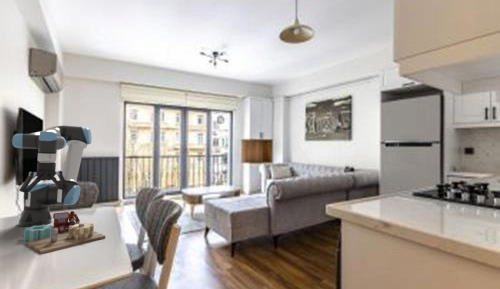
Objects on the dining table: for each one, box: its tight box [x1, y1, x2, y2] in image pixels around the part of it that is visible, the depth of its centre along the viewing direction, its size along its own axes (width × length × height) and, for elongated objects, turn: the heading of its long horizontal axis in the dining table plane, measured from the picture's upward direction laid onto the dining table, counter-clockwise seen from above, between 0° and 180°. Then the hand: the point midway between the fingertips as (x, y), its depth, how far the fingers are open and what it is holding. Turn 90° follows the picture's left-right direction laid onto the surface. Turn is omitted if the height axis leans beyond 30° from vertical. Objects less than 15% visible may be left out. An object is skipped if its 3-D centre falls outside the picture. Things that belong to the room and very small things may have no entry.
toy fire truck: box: [52, 210, 81, 234], centre depth 148 cm, size 7×12×10 cm, turn 135°
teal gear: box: [23, 224, 53, 242], centre depth 135 cm, size 11×11×5 cm
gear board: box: [25, 222, 106, 255], centre depth 133 cm, size 17×28×7 cm, turn 147°
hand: (44, 204), depth 136 cm, fingers open, 13 cm apart
